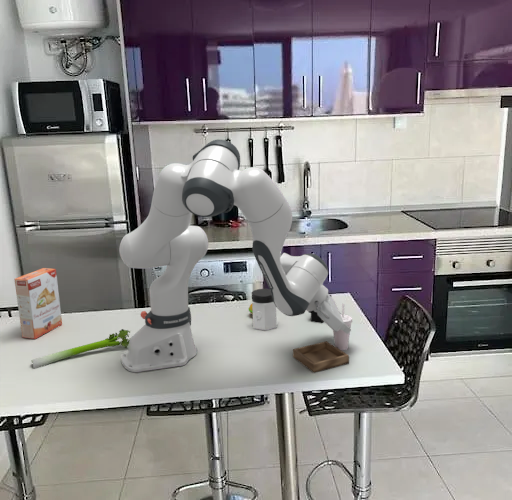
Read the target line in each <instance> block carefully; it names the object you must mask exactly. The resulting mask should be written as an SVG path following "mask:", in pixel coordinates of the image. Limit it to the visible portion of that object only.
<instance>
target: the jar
mask: <svg viewBox="0 0 512 500" xmlns="http://www.w3.org/2000/svg"><path fill="white" fill-rule="evenodd" d="M251 304H252V308H253V315H252V326H253V329H254V330H260V331H269V330H273V329H276V328H277V307H276V306H275V304H274V302H273V298H272V294H271V291H270V288H259V289H255V290H252V292H251Z"/></svg>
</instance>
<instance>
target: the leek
mask: <svg viewBox="0 0 512 500" xmlns="http://www.w3.org/2000/svg"><path fill="white" fill-rule="evenodd" d="M130 334H131V330H129V329H127V330H126V329H124V328H122V329H120V330H119V331H118V333H117V332H115V333H110V334H109V336H108V337H107V338H105V339H103V340H98V341H95V342H92V343H87V344H84V345H81V346H79V345H78V346H76V347H73V348H69V349H64V350H61V351H57V352H54V353H51V354H47V355H44V356H41V357H38V358H33V359H31V364H32V368H33V370H34V369H38V368H41V366H42V367H45V366H47V365H50V364H53V363H55V362H58V361H61V360H64V359H67V358H69V357H73V356H77V355H80V354H83V353H87V352H90V351H94V350H99V349H103V348H108V347H117V346H122V347H123V349H125V348H126V349H128V345H129V341H130V337H129V336H130ZM44 365H45V366H44Z"/></svg>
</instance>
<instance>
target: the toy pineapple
mask: <svg viewBox="0 0 512 500" xmlns="http://www.w3.org/2000/svg"><path fill="white" fill-rule="evenodd" d="M248 312H249V313H250V314H251V315H252V316H253V308H252V303H250V305H249V307H248Z"/></svg>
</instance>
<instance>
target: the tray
mask: <svg viewBox="0 0 512 500" xmlns="http://www.w3.org/2000/svg"><path fill="white" fill-rule="evenodd" d="M292 358H294V359H295V360H296V361H298V363H300V364H302V366H303V367H306V368H307V369H308V370H309V371H311V373H314V374H315V373H318V372H322V371H326V370H330V369H334V368H337V367H341V366H345V365H349V363H350V355H349V354H348V353H346V352H344V350H343V351H341V350H340V349H338V348H337V347H335V345H334V344H332V343H331V342H329V341H322V342H317V343H313V344H308V345H305V346H301V347H300V346H299V347H297V348H293V349H292Z"/></svg>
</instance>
